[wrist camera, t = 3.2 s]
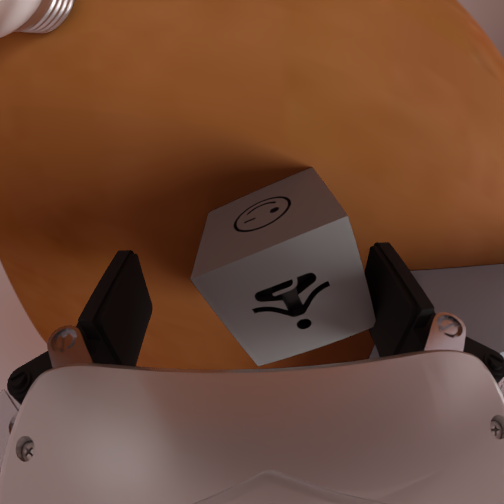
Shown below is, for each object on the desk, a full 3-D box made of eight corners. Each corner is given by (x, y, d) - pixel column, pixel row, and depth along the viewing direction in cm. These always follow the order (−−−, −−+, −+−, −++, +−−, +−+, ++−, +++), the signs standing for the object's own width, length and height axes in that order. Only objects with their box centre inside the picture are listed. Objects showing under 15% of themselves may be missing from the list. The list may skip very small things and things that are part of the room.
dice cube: (312, 166, 12) (347, 215, 8) (344, 255, 14) (376, 325, 10) (209, 211, 13) (190, 279, 9) (255, 289, 15) (258, 366, 11)
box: (546, 259, 15) (588, 307, 9) (487, 362, 22) (510, 408, 16) (401, 271, 15) (457, 368, 9) (350, 397, 22) (365, 465, 16)
